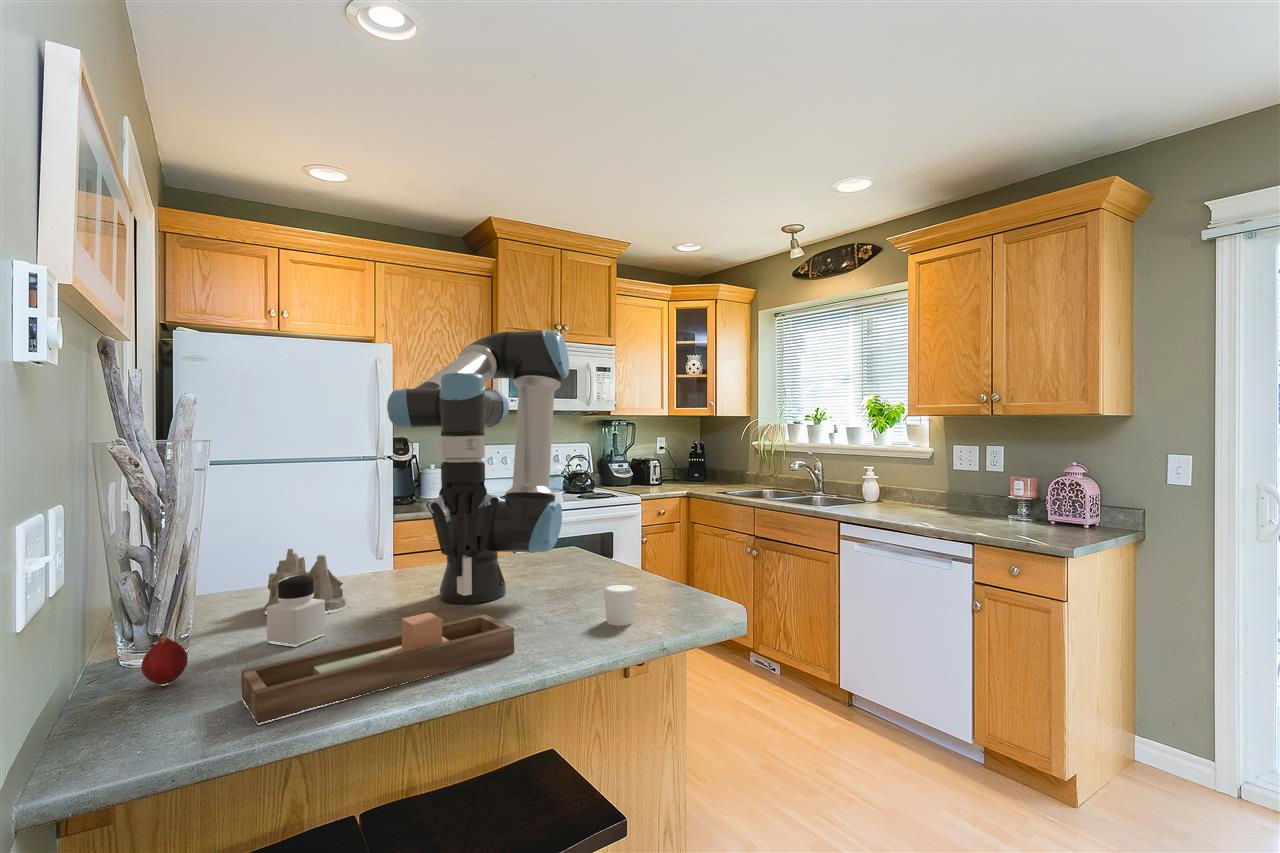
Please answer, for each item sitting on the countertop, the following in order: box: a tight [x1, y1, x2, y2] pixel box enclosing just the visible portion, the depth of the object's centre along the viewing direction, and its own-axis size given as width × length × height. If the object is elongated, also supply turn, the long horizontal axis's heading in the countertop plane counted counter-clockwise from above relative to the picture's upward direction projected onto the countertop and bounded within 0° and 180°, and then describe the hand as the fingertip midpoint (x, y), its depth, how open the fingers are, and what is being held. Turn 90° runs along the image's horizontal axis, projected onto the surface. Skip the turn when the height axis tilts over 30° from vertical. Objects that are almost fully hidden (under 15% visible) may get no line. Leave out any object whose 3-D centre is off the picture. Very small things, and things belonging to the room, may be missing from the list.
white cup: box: [603, 583, 638, 627], centre depth 131 cm, size 7×7×7 cm
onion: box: [141, 636, 189, 686], centre depth 102 cm, size 6×6×8 cm
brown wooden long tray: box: [240, 613, 515, 723], centre depth 105 cm, size 11×40×4 cm, turn 131°
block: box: [400, 612, 443, 652], centre depth 109 cm, size 5×5×5 cm
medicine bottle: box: [266, 575, 326, 645], centre depth 122 cm, size 7×7×12 cm
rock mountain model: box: [263, 548, 347, 611], centre depth 143 cm, size 16×16×15 cm
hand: (464, 593), depth 114 cm, fingers closed
